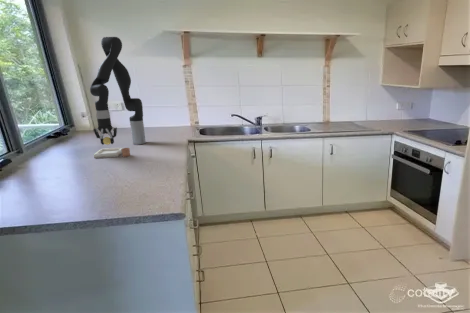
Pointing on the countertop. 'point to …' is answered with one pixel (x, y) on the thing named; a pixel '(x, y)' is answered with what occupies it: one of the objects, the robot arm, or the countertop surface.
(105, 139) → the ball
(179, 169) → the countertop surface
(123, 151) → the cup
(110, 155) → the tray
